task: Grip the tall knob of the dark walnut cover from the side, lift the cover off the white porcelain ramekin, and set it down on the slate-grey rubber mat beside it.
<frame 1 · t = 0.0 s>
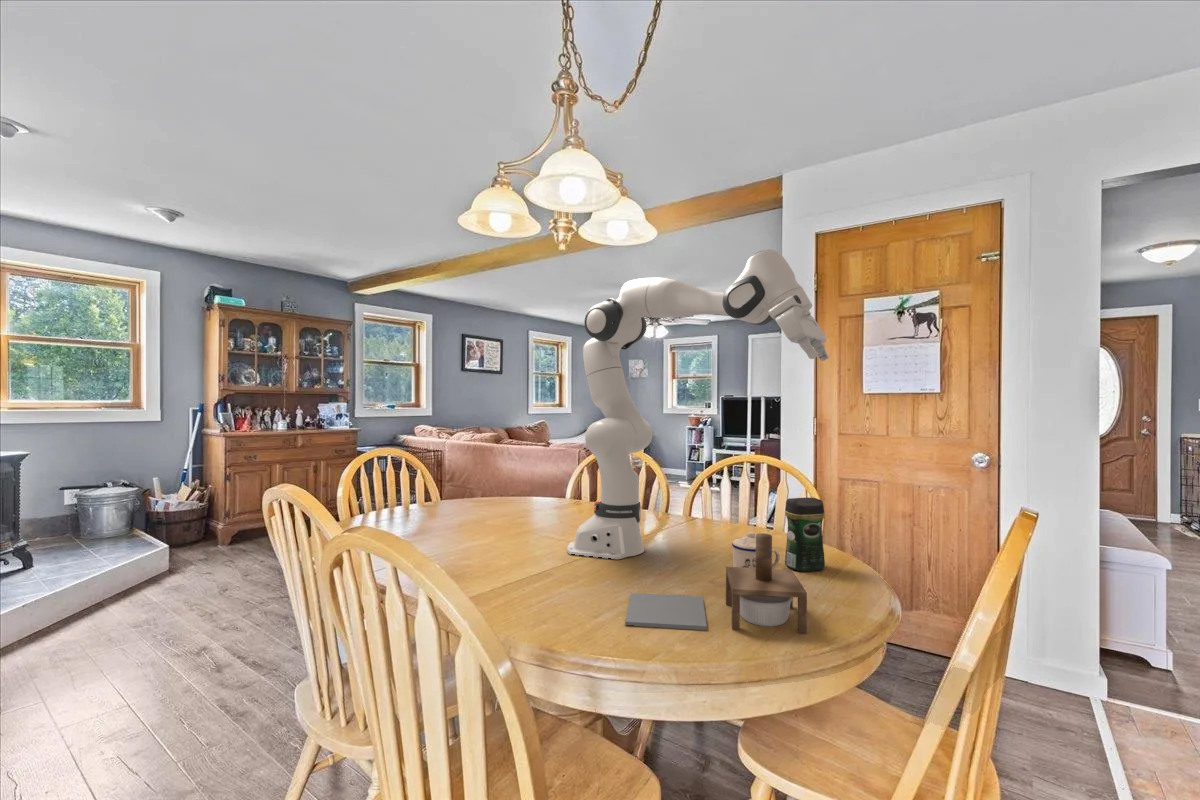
hand: (820, 358, 129), 54 cm above the table, tool tilted 30°, fingers open, 8 cm apart
grey rubber mat: (666, 611, 118), on the table
teacup with lid: (756, 579, 139), on the table
coffee jar: (804, 568, 148), on the table
ramekin: (763, 618, 115), on the table
walnut cover: (763, 617, 115), on the table
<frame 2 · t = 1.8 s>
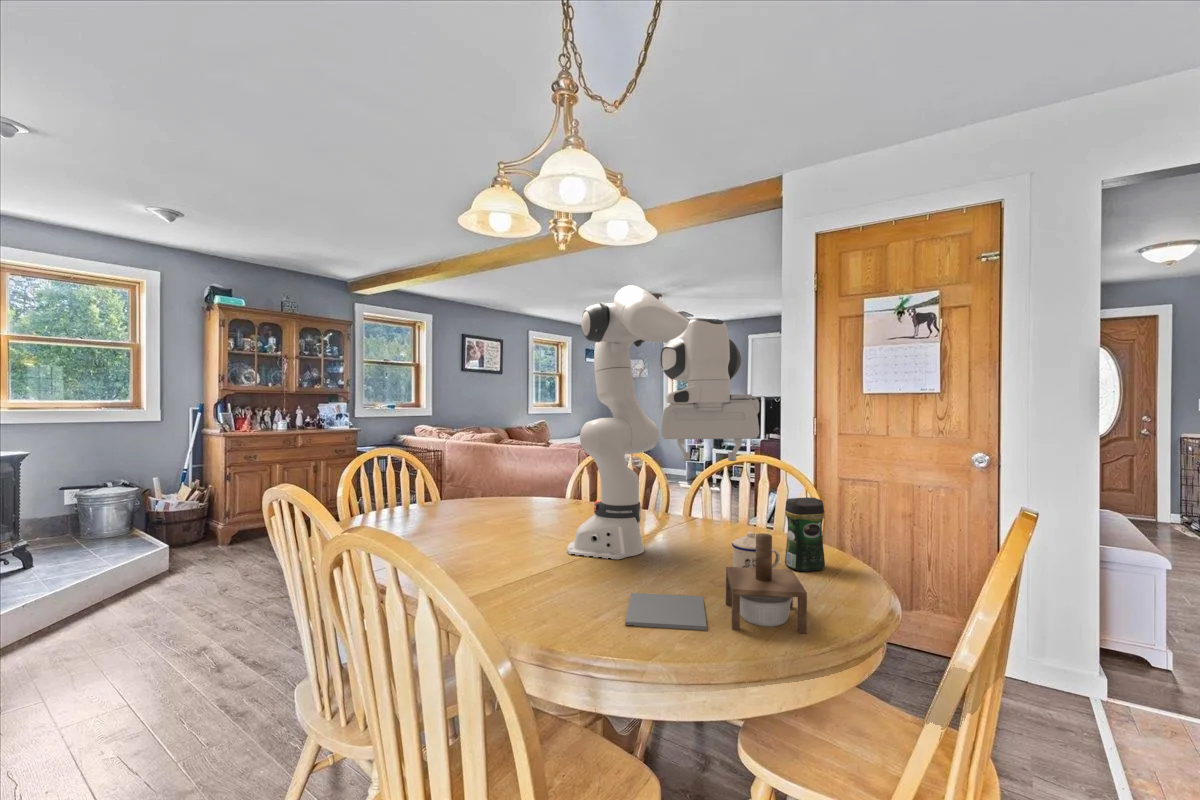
hand: (709, 460, 116), 32 cm above the table, tool pointing down, fingers open, 8 cm apart
nothing on the table moved.
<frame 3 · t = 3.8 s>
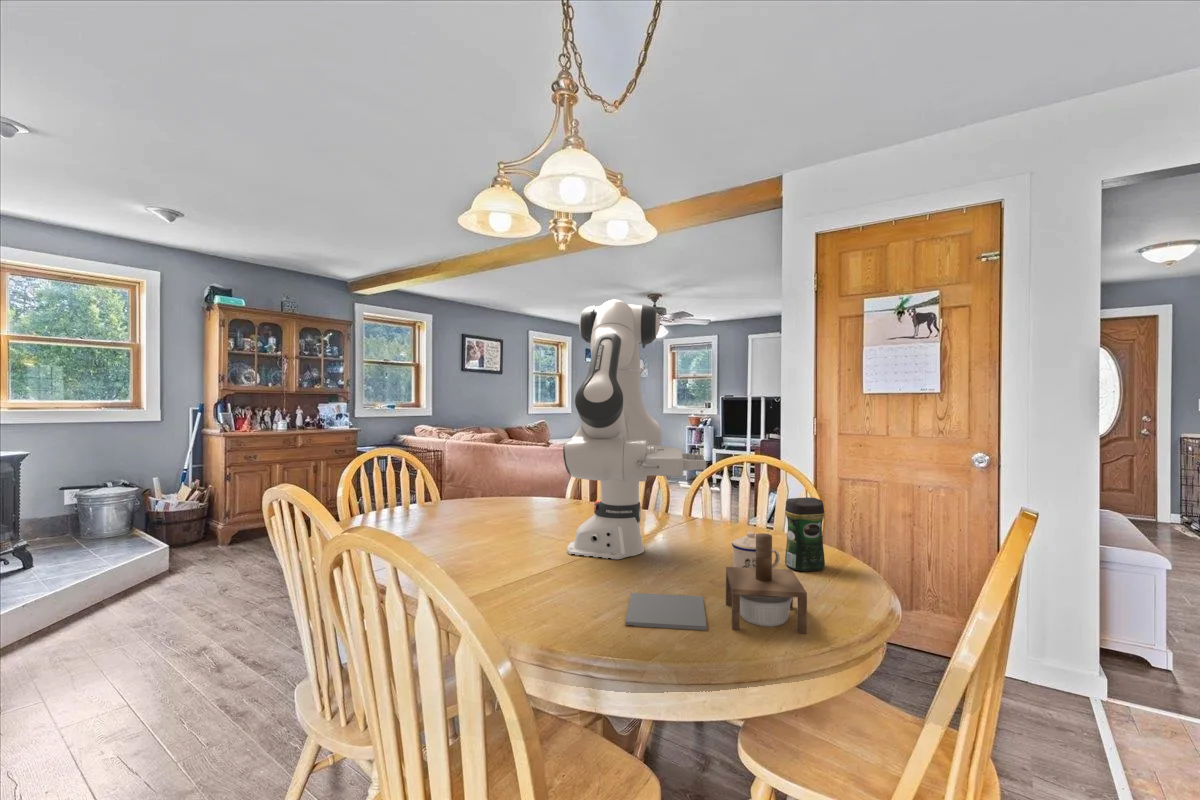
hand: (704, 461, 116), 32 cm above the table, tool horizontal, fingers open, 8 cm apart
nothing on the table moved.
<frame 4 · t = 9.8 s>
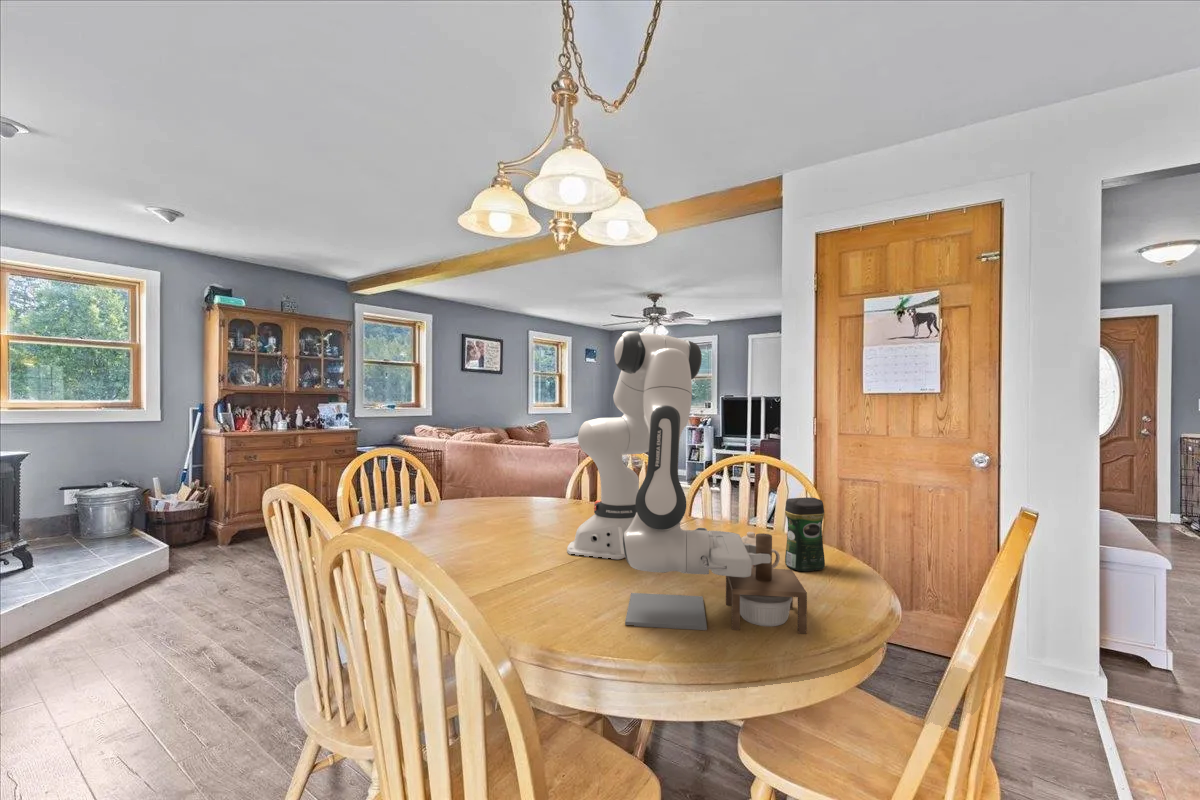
hand: (768, 554, 115), 13 cm above the table, tool horizontal, fingers closed on walnut cover, 3 cm apart
walnut cover: (763, 617, 115), on the table, touching gripper
everything else where it was.
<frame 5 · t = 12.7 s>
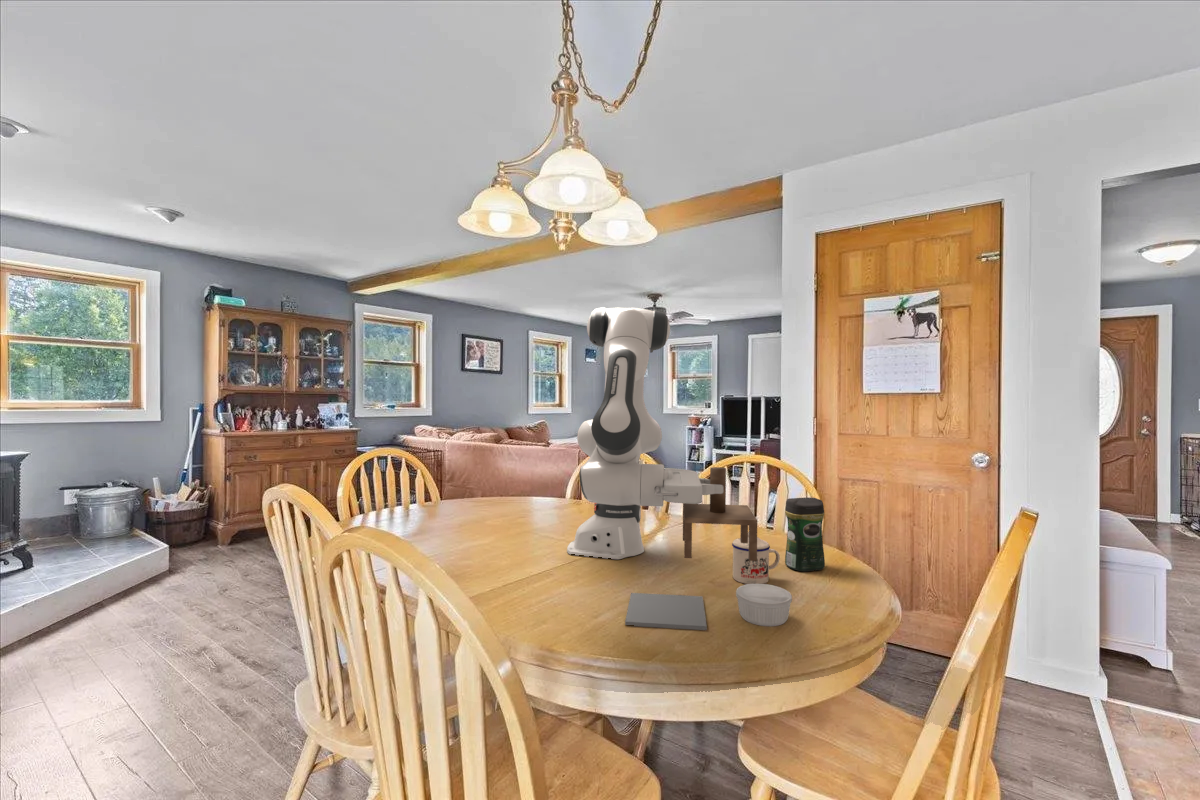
hand: (722, 486, 116), 27 cm above the table, tool horizontal, fingers closed on walnut cover, 3 cm apart
walnut cover: (717, 549, 117), point 14 cm above the table, touching gripper
everything else where it was.
when the fingers open (15 cm above the table, at t = 16.0 s): walnut cover drops 1 cm, resting on grey rubber mat.
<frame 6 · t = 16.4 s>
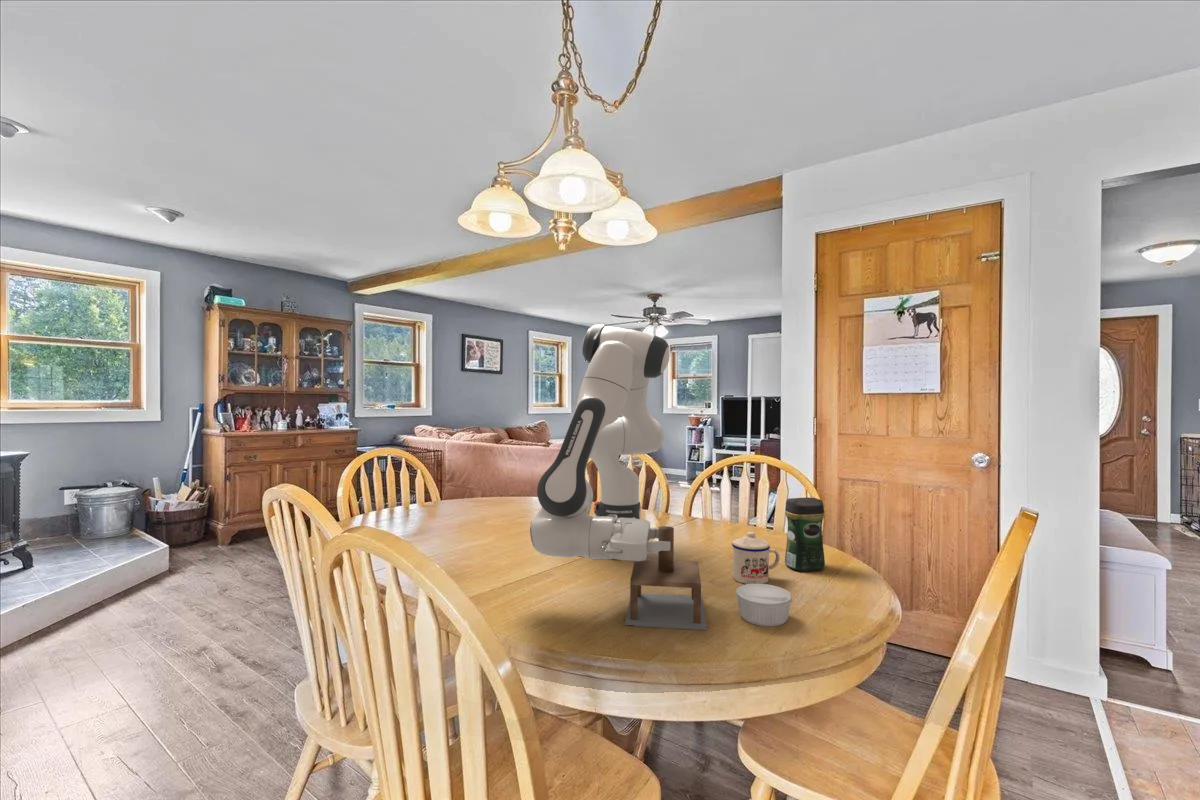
hand: (670, 540, 117), 15 cm above the table, tool horizontal, fingers open, 7 cm apart
walnut cover: (665, 608, 118), point 1 cm above the table, touching grey rubber mat
everything else where it was.
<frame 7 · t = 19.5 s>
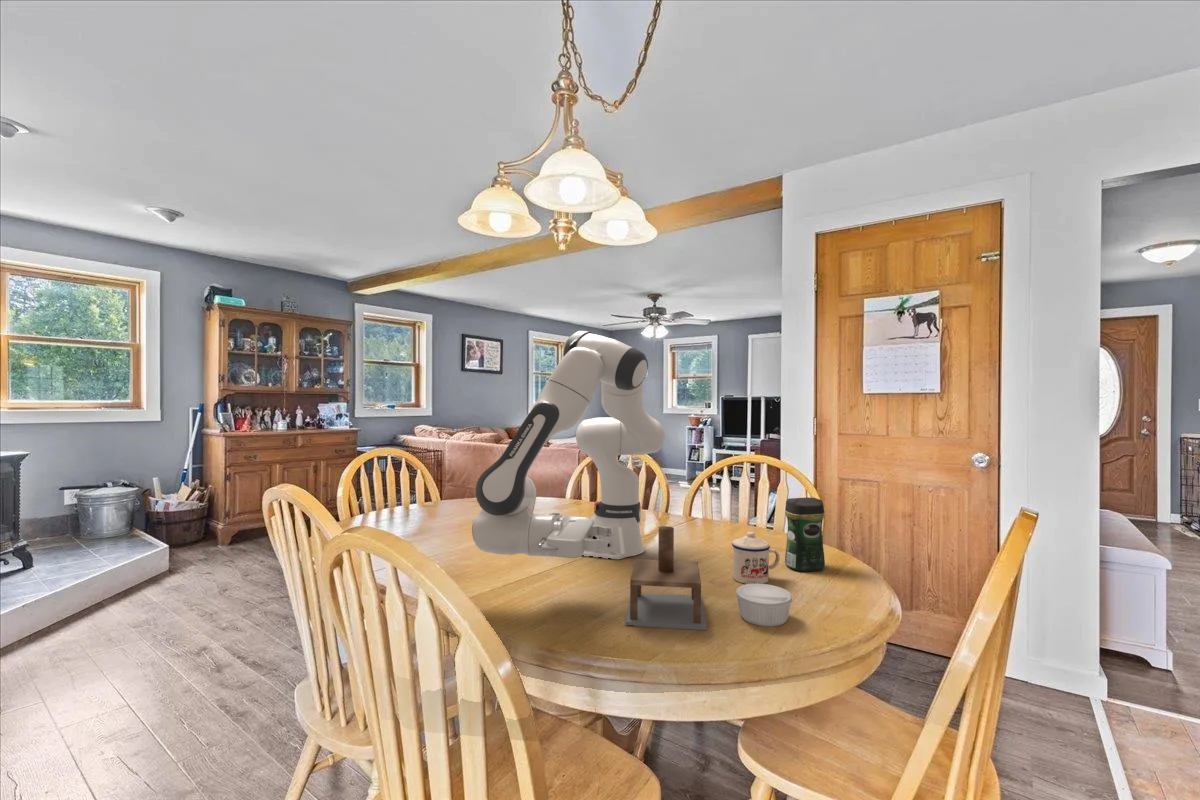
hand: (609, 537, 119), 15 cm above the table, tool horizontal, fingers open, 8 cm apart
nothing on the table moved.
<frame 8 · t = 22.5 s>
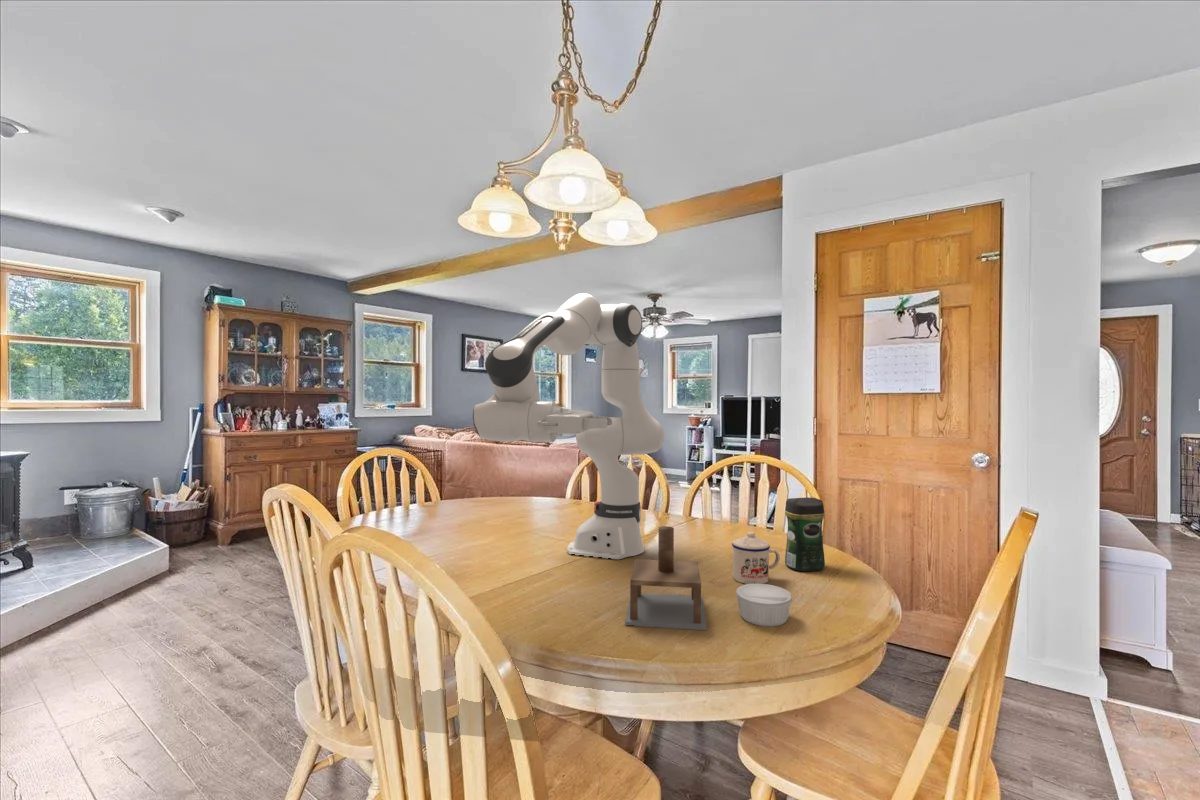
hand: (609, 422, 119), 40 cm above the table, tool horizontal, fingers open, 8 cm apart
nothing on the table moved.
at the end: walnut cover inside the target area on the grey rubber mat (0.1 cm from its centre), point 0.8 cm above the grey rubber mat's base; walnut cover tilted 0°; ramekin moved 0.3 cm from its start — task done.
